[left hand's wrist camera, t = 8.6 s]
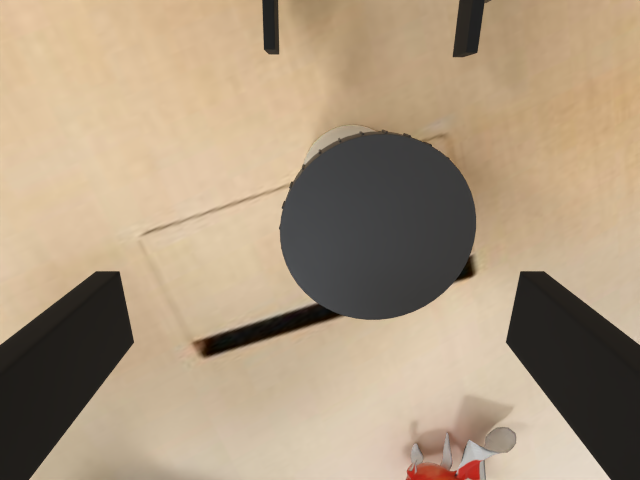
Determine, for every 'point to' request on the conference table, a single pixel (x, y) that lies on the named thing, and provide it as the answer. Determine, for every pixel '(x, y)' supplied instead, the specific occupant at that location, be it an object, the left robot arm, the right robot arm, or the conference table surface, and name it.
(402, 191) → the lid
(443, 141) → the conference table surface
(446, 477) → the fish
